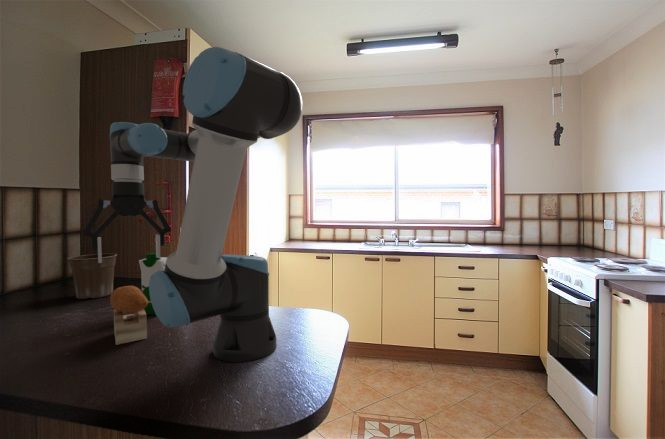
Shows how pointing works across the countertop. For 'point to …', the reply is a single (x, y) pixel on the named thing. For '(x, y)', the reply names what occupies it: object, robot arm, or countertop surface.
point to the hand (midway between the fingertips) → (130, 259)
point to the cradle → (130, 326)
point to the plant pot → (93, 275)
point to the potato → (128, 299)
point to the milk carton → (147, 269)
